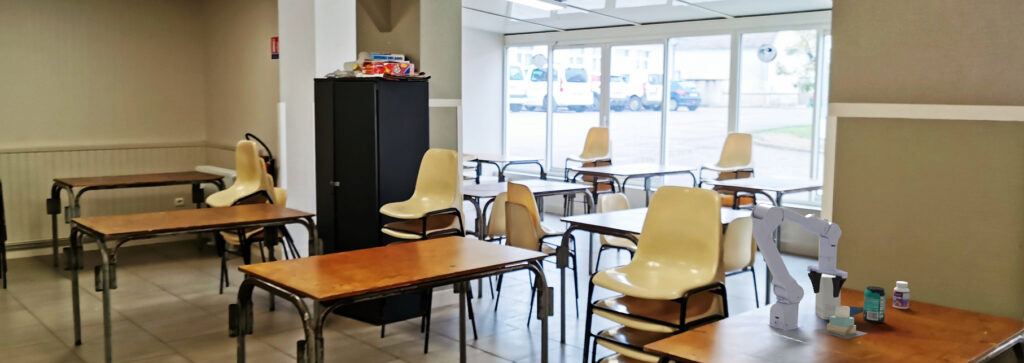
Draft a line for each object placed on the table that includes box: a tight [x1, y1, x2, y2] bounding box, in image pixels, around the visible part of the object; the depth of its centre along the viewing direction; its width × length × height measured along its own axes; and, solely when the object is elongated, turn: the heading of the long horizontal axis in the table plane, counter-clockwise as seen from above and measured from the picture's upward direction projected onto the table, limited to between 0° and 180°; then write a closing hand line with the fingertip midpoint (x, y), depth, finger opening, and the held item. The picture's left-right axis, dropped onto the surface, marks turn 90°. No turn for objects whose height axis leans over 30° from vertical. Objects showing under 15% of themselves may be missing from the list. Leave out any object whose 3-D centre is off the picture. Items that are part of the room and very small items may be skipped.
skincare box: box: [814, 274, 842, 320], centre depth 297 cm, size 8×7×16 cm
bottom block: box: [826, 322, 857, 336], centre depth 277 cm, size 6×6×2 cm
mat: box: [814, 326, 868, 340], centre depth 277 cm, size 12×12×1 cm
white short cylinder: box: [835, 304, 851, 319], centre depth 277 cm, size 4×4×4 cm
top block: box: [829, 316, 855, 328], centre depth 277 cm, size 6×6×2 cm
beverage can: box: [862, 285, 887, 324], centre depth 293 cm, size 7×7×12 cm
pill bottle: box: [892, 280, 910, 310], centre depth 314 cm, size 5×5×10 cm
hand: (826, 295), depth 287 cm, fingers open, 7 cm apart
